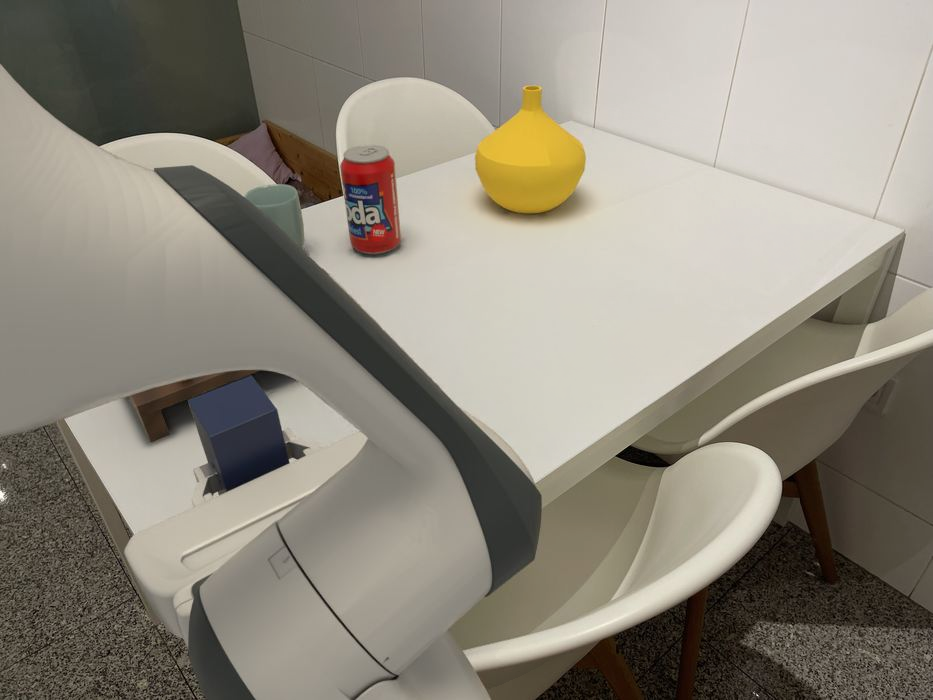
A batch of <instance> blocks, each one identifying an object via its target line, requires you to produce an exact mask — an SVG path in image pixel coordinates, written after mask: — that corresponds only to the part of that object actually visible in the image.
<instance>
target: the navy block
mask: <svg viewBox="0 0 933 700" xmlns="http://www.w3.org/2000/svg"><path fill="white" fill-rule="evenodd" d="M187 404H188V406H189V409H190V412H191V415H192V418H193V421H194V424H195V428H196V431H197V434H198V436H199V437H198V438H199V441H200V442H201V446H202V448H203V452H204V455H205V458H206V461H207V463H210V462H211V463H212V464H213V466H214V468H215V469H216V471H217V473H218V476H219V479H220V482H221V485H222V488H223V489H222V490H220V491H218V492H217V495H218V496H219V495H221V494H224V493H226V492H228V491H230V490H232V489H234V488H237V487H239V486H241V485H243V484H245V483H248V482H250V481H252V480H254V479H256V478H258V477H261V476H263V475H265V474H267V473H269V472H272V471H274V470H276V469H278V468H280V467H282V466H285V465H287V464H289V463H291V462H290V459H289V458H288V454H287V449H286V445H285V441H284V436H283V432H282V431H283V428H282V424H281V419H280V415H279V411H278V408H277V407H276V406H275V404H274V403H273V402H272V401H271V399H270V398H269V396H268V395H267V394H266V392H265V391H264V390H263V388H262V387H261V386H260V385H259V383H258V382H257V380H256V379H255V378H254V376H253V375H248V376H245V377H243V378H240V379H238V380H235V381H233V382H230V383H227V384H225V385H222V386H220V387H217V388H215V389H212V390H209V391H207V392H204V393H202V394H199V395H197V396H194V397H192V398H189V399H187Z"/></svg>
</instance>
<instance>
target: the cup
mask: <svg viewBox="0 0 933 700" xmlns="http://www.w3.org/2000/svg"><path fill="white" fill-rule="evenodd" d="M243 197H245V198H246V199H247V200H249V201H250V202H251V203H252V204H253V205H255V206H256V207H257V208H258V209H259V210H261V211H262V212H263V213H264V214H265V215H266V216H267V217H269V218H270V219H271V220H272V221H273V222H274V223H275V224H276V225H277V226H279V227H280V228H281V229H282V230H283V231H284V232H285V233H286V234H287V235H288V236H289V237H290V238H291V239H292V240H293V241H294V242H295V243H296V244H297V245H298V246H299V247H300V248H301V249H302V250H303V249H304V246H305V227H304V225H305V224H304V218H303V212H302V206H301V200H300V195H299V192H298V190H297V188H295V187H294V186H293V185H290V184H285V183H283V184H282V183H275V184H274V183H273V184H266V185H261V186H257V187H254V188H252V189H250V190H249V191H247V192H246V193H245V195H244V196H243Z"/></svg>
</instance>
